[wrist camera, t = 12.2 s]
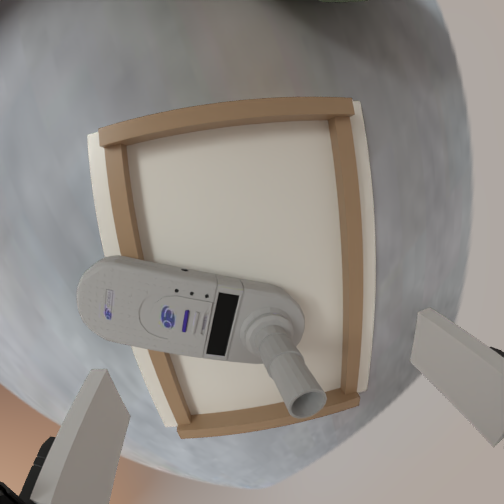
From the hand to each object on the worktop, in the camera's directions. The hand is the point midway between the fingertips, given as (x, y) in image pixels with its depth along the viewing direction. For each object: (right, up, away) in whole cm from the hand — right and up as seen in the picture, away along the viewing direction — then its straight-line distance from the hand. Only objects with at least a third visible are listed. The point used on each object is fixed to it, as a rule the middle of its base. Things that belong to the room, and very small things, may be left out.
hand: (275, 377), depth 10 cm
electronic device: (-5, +1, +9) cm, 10 cm away
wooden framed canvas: (-1, +2, +11) cm, 11 cm away
